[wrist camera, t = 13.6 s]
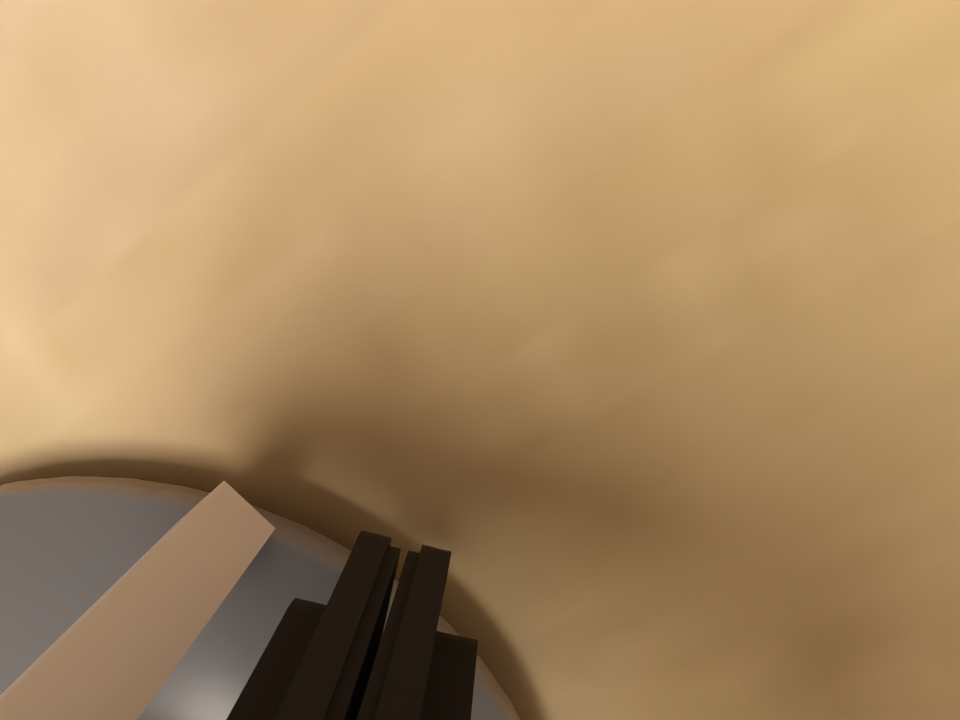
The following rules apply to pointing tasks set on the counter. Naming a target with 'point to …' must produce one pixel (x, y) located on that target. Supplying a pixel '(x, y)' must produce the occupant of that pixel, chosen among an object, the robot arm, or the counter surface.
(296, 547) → the disc
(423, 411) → the counter surface
